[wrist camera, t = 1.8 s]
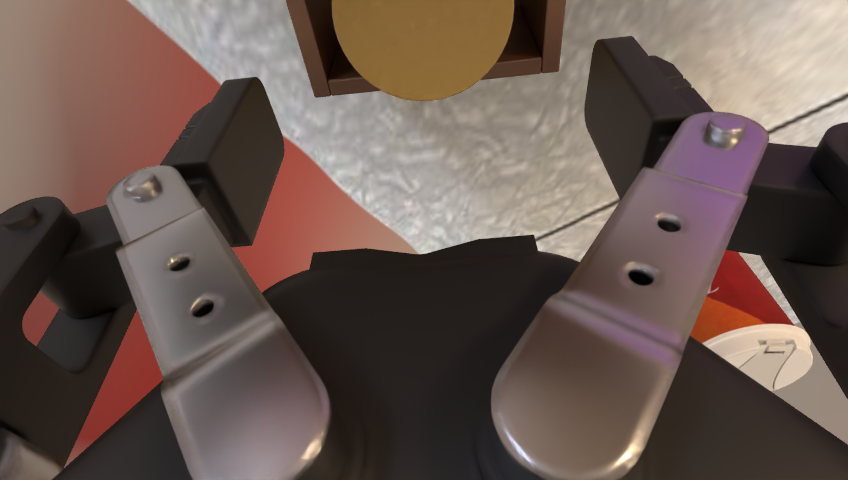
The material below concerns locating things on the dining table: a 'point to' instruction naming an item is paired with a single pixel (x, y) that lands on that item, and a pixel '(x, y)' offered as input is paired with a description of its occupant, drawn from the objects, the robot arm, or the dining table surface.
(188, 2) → the dining table surface
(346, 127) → the dining table surface
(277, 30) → the dining table surface
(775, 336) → the coffee cup
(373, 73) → the tea tin
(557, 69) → the chest
